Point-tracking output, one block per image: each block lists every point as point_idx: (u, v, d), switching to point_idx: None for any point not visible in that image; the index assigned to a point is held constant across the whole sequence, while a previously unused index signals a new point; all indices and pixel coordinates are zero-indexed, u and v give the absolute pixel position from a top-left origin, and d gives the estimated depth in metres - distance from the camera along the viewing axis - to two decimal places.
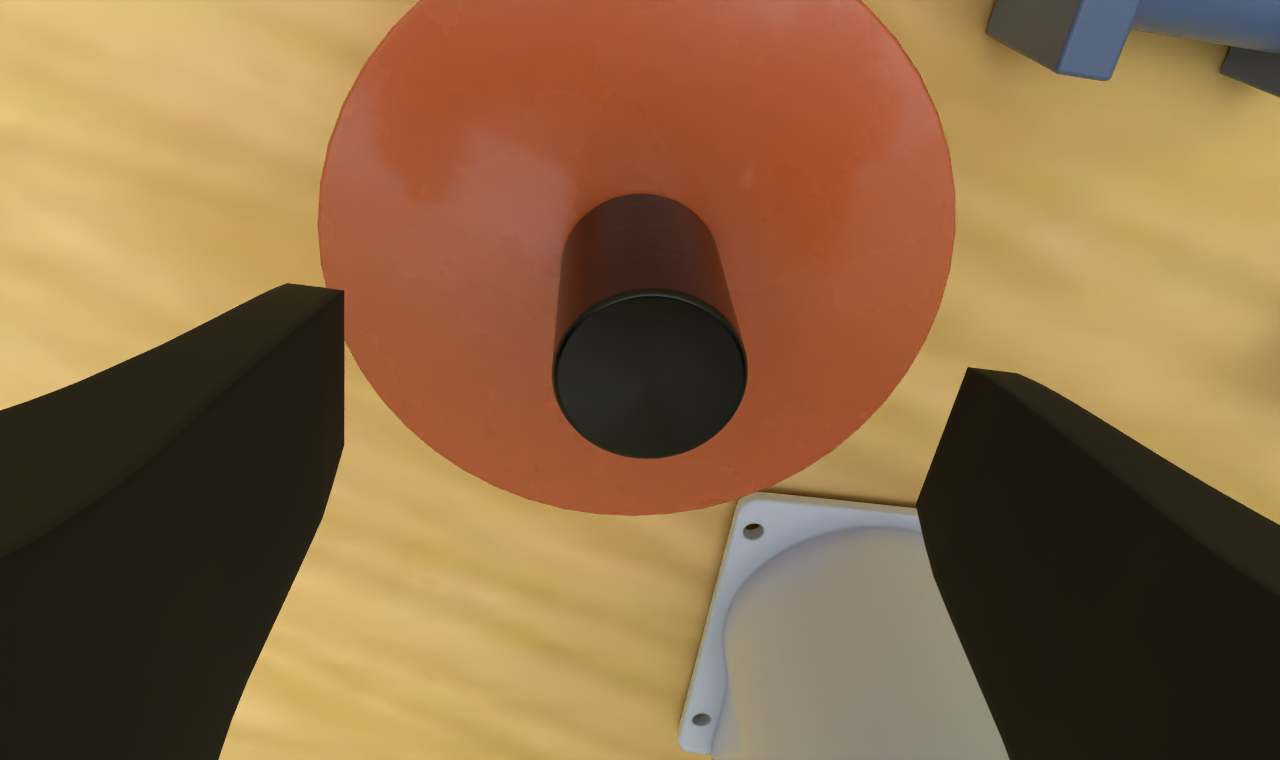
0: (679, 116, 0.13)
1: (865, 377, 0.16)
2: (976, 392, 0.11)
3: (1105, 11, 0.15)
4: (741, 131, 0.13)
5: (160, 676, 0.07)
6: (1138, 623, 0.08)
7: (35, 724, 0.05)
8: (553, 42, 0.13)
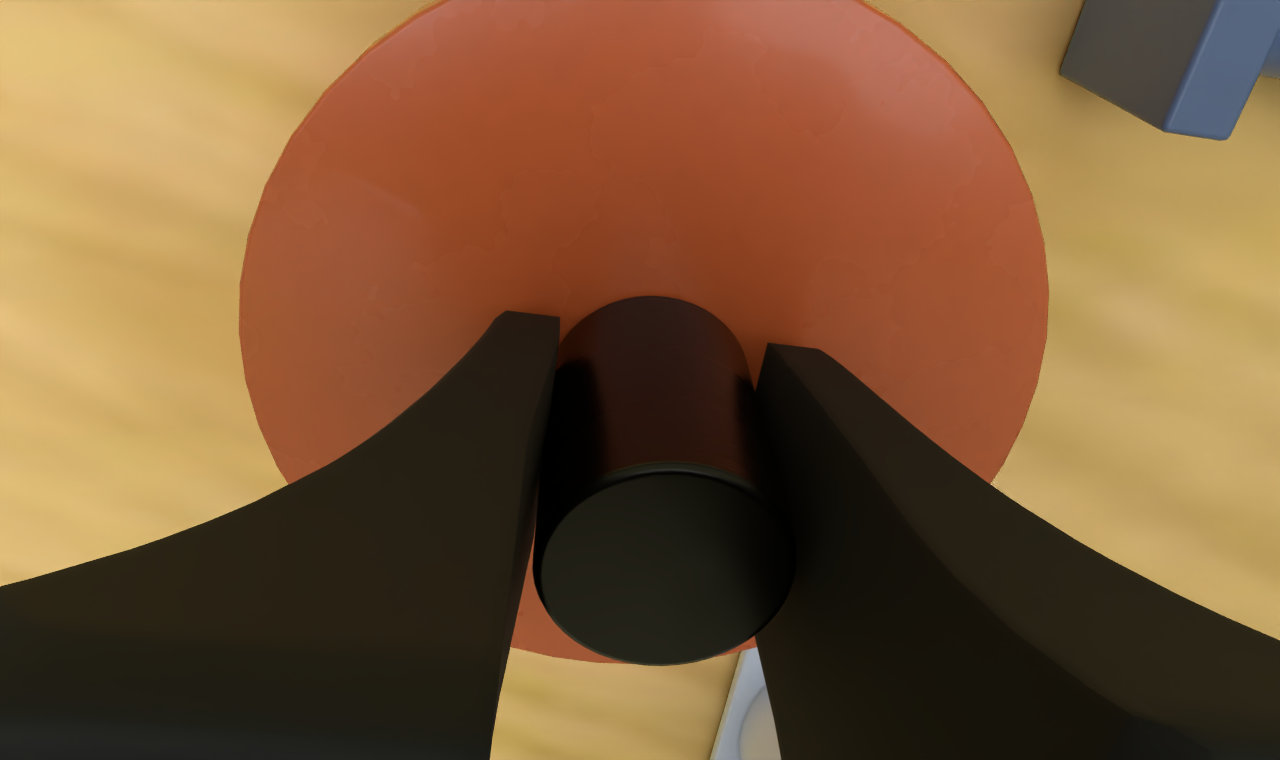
0: (700, 200, 0.10)
1: None
2: (770, 367, 0.10)
3: (1228, 57, 0.12)
4: (779, 219, 0.10)
5: None
6: (859, 595, 0.07)
7: None
8: (537, 109, 0.10)
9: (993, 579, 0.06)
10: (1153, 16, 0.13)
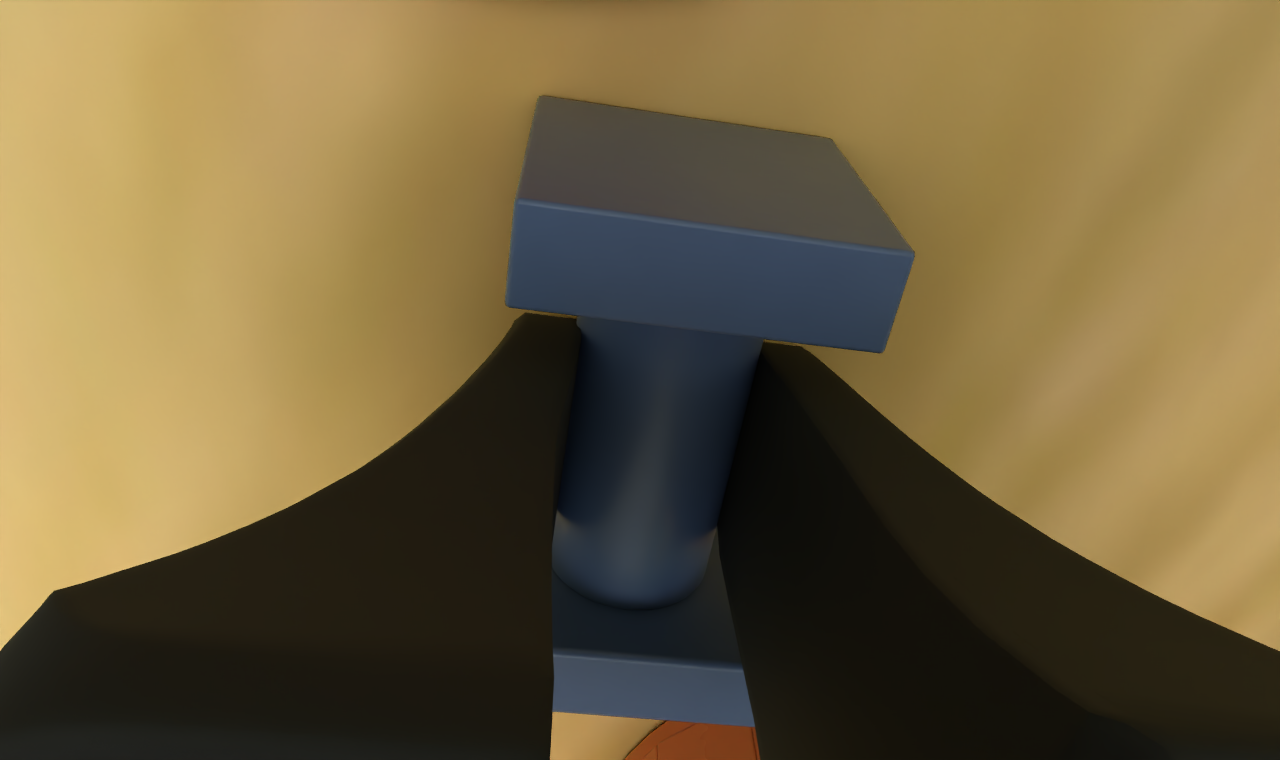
0: None
1: None
2: None
3: (679, 697, 0.11)
4: None
5: None
6: (834, 594, 0.07)
7: None
8: None
9: (961, 576, 0.06)
10: None
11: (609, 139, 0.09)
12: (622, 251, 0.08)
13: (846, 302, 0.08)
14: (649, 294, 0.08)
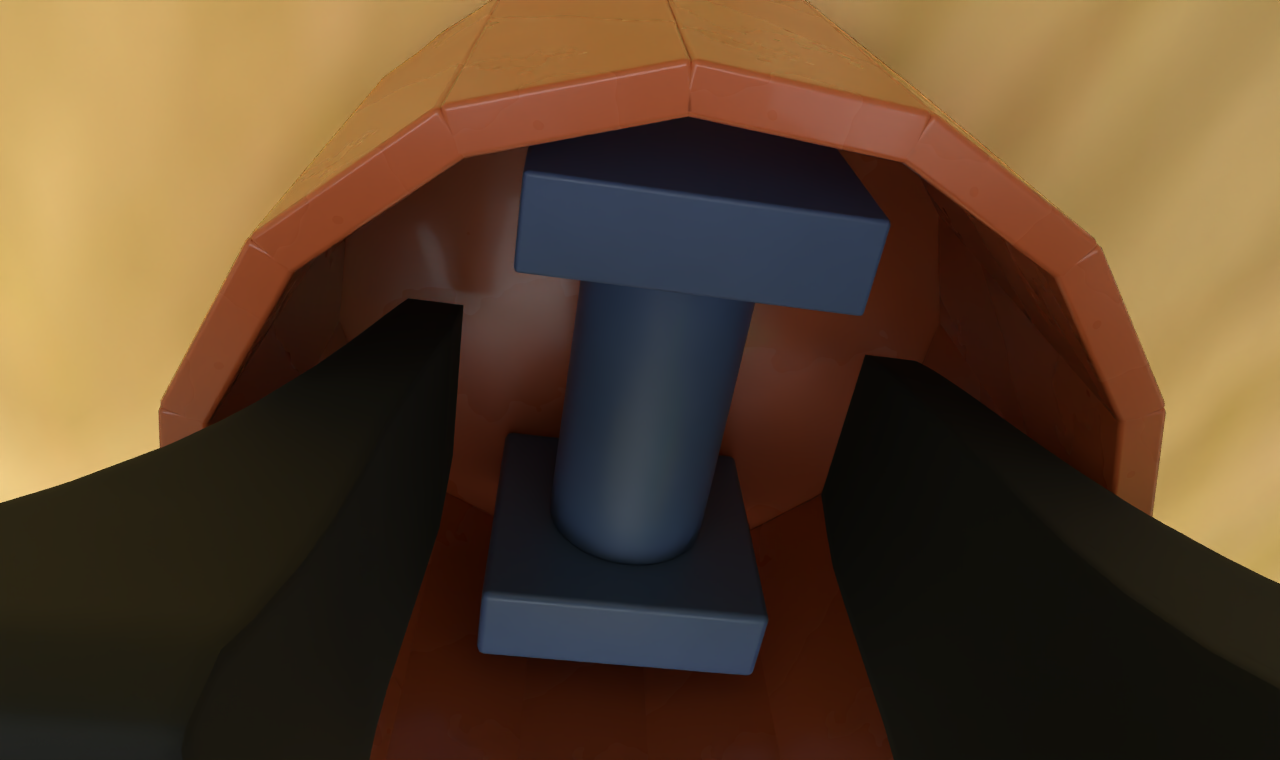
0: None
1: None
2: (871, 379, 0.10)
3: (675, 646, 0.11)
4: None
5: (347, 691, 0.07)
6: (996, 609, 0.08)
7: (289, 743, 0.05)
8: None
9: (1161, 596, 0.06)
10: None
11: None
12: (622, 220, 0.09)
13: (828, 268, 0.09)
14: (647, 260, 0.09)
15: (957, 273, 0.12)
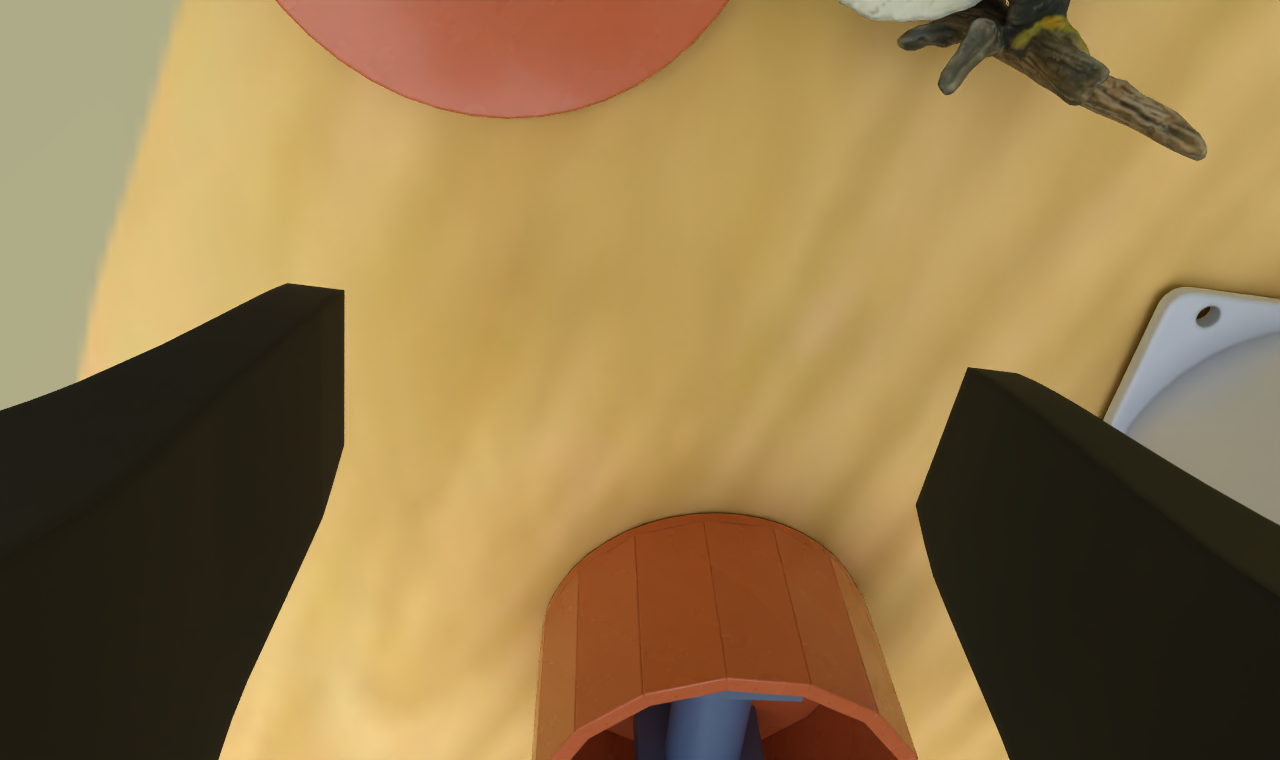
0: None
1: None
2: (976, 392, 0.11)
3: None
4: None
5: (160, 676, 0.07)
6: (1137, 622, 0.08)
7: (34, 726, 0.05)
8: None
9: None
10: None
11: None
12: None
13: None
14: None
15: None
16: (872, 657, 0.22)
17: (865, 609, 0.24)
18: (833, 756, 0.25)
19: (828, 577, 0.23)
